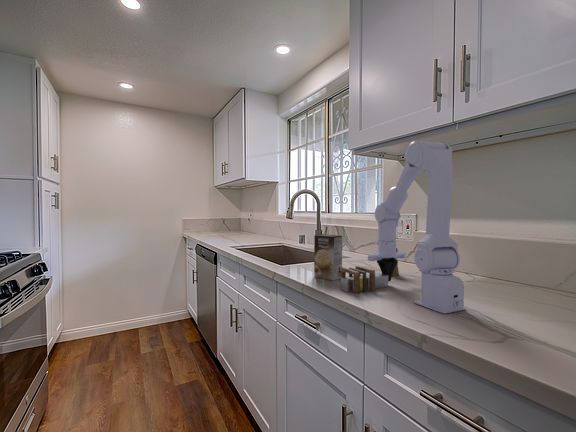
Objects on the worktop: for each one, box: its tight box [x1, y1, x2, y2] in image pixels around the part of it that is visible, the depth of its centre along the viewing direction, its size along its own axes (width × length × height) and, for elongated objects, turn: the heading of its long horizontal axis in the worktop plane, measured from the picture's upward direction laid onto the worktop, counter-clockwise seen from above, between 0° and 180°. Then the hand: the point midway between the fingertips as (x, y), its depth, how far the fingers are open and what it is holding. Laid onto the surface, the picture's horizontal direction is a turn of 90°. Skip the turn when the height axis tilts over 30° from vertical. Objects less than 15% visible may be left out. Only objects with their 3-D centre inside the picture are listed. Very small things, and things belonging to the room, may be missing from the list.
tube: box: [340, 272, 389, 293], centre depth 95 cm, size 16×4×4 cm, turn 113°
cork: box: [392, 247, 400, 277], centre depth 114 cm, size 6×6×11 cm
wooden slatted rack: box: [339, 265, 376, 295], centre depth 93 cm, size 8×7×6 cm
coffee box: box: [313, 233, 343, 281], centre depth 110 cm, size 9×6×16 cm
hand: (387, 280), depth 98 cm, fingers closed
